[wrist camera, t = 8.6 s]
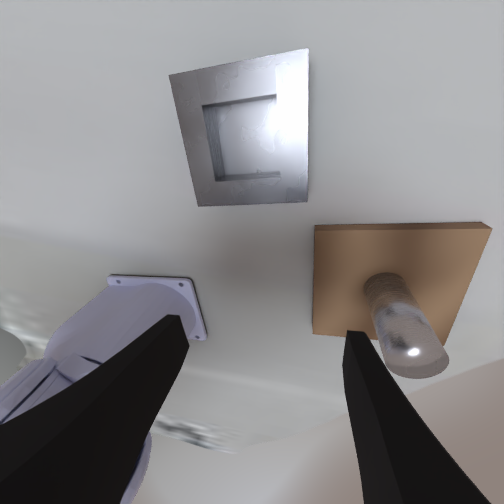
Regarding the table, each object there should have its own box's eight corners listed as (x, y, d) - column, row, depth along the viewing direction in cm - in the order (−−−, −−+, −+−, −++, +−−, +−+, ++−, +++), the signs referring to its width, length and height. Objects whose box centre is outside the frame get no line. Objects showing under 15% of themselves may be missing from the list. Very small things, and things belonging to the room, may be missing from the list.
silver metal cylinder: (365, 304, 18) (386, 378, 13) (361, 275, 17) (382, 343, 12) (407, 301, 17) (447, 378, 12) (405, 269, 16) (450, 340, 11)
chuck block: (211, 195, 17) (198, 206, 15) (190, 81, 14) (168, 75, 12) (307, 190, 16) (307, 202, 14) (308, 60, 12) (308, 47, 10)
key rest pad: (312, 325, 21) (312, 334, 21) (314, 225, 17) (315, 230, 16) (438, 335, 19) (443, 345, 18) (481, 222, 14) (492, 228, 14)
